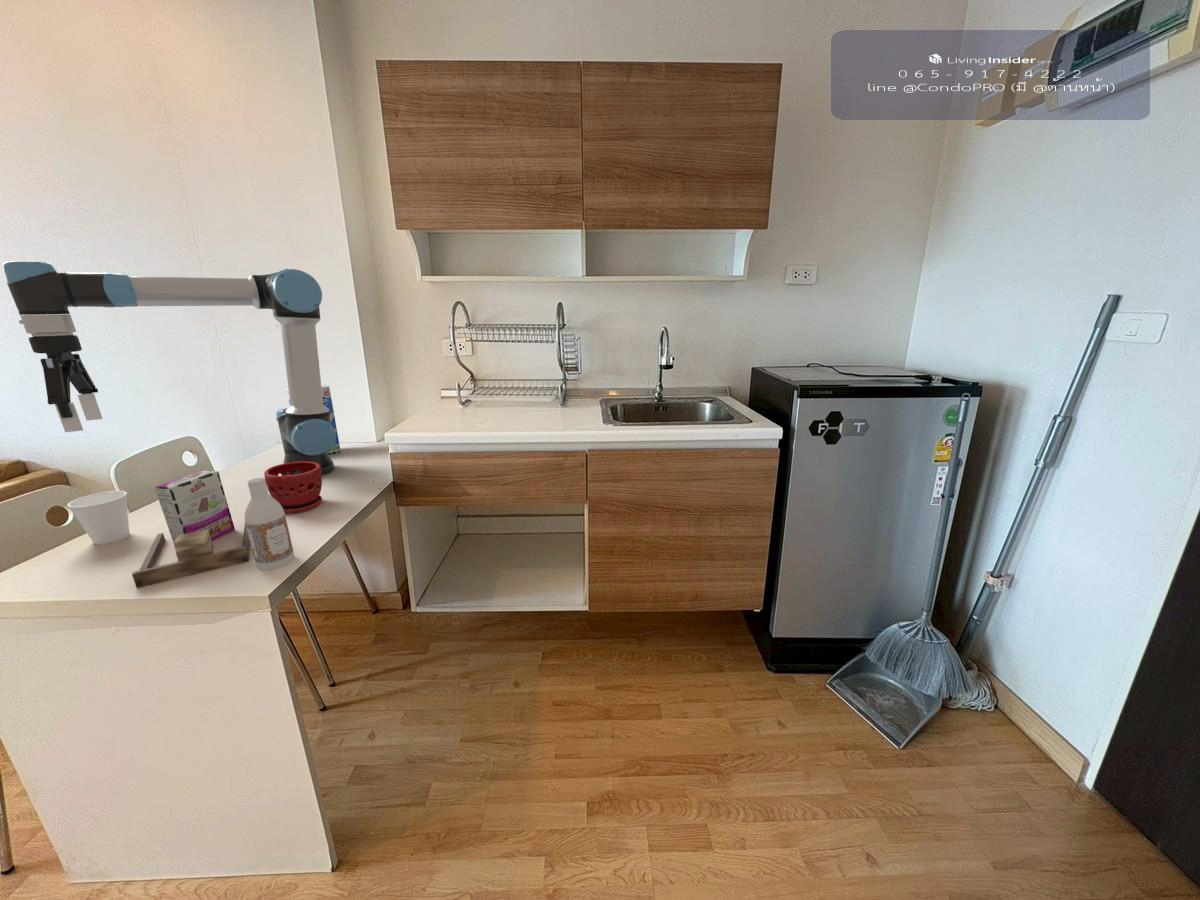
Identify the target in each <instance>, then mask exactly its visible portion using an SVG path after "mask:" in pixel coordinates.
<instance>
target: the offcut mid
mask: <svg viewBox="0 0 1200 900" xmlns="http://www.w3.org/2000/svg"><path fill="white" fill-rule="evenodd" d="M213 546H214V544H213V541H212V540H211V537H210V540H209V541H208V543H207V545H206V546H201V547H196V548H191V549H186V550H180V551H176V550H175V555H176V558H177V560H178V561H183V560H187V559H192V558H196V557H200V556H205V555H209V554H213Z"/></svg>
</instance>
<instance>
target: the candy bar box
mask: <svg viewBox="0 0 1200 900" xmlns="http://www.w3.org/2000/svg"><path fill="white" fill-rule="evenodd" d="M154 490H155V494H156V496H157V498H158V500H159V504H160V507H161V511H162V513H163V516H164V519H165V522H166V526H167V528H168V531H169V534H170V537H171V539H172V540H171V541H172V543H173V544H174V541H175V540H176V538H177V537H178V535H181V534H186V533H192V532H197V531H203V530H208V531H209V534H210V537H211V540H212V542H213V541H215V540H217V539H219V538H221V537H223V536H225V535H228V534H230V533H232V532H234V531H236V528H235V525H234V521H233V518H232V514H231V511H230V508H229V504H228V501H227V496H226V494H225V490H224V486H223V484H222V480H221V476H220V472H219V471H218V470H207V469H203V470H200V471H197V472H194V473H192V474H188V475H184V476H182V477H179V478H176V479H173V480H171V481H167V482H165V483H162V484H160V485H159V484H158V485H157V486H154Z"/></svg>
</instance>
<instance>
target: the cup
mask: <svg viewBox="0 0 1200 900" xmlns="http://www.w3.org/2000/svg"><path fill="white" fill-rule="evenodd" d="M127 495H128V492H127V491H125V490H124V491H123V490H112V491H111V490H109V491H104V492H103V491H102V492H96V493H92V494H87V495H85V496H82V497H78V498H76V499H73V500H71V501H70V502H68V503H67V505H66V506H67V508H69V509H70V511H71V512H72V513H73V515H74V517H75V518H76V519H77V521H78V522H79V524H80V525H81V526H82V528H83V529H84V531H85V532H86V534H87V535H88V537H89V538H90V539H91V540H90V541H91V542H92V543H93V544H94V545H106V544H111V543H115V542H118V541H121V540H124V539H126V538H128V537H129V536H130V535H131V533H130V526H129V525H130V524H129V515H128V514H129V513H128V500H127Z"/></svg>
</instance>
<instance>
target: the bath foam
mask: <svg viewBox="0 0 1200 900" xmlns="http://www.w3.org/2000/svg"><path fill="white" fill-rule="evenodd" d="M247 485H248V486H247V487H248V489H249V493H250V494H249V495H250V500H249V502H248V503H247V506H246V508H245V511H244V525H245V524H246V528H247V532H248V536H249V540H250V549H251V550H252V555H253V559H254V563H255V566H256V569H257V570H259V571H266V572H267V571H274V570H278V569H281V568H284V567H286V566H288V565H290V564H291V563H294V561H295V559H296V558H295V553H294V548H293V543H292V539H291V535H290V530H289V526H288V521H287V518H286V514H285V512H284V510H283V508H282V506H281V505H280V503H279V502H278V501H276V500H275V499H274V498H273V497H271V495H270V493H269V491H268V488H267V485H266V481H265V477H256V478H255V477H254V478H251V479H248V480H247Z"/></svg>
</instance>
